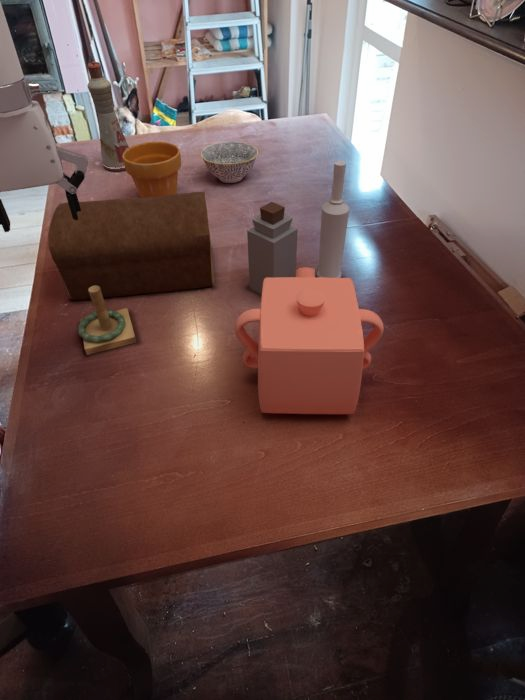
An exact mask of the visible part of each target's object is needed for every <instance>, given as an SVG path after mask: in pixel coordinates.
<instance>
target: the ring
mask: <svg viewBox="0 0 525 700" xmlns="http://www.w3.org/2000/svg"><path fill="white" fill-rule="evenodd" d="M107 311H108V314H109V317H114V318H116V319H117V320H118V323H119V324H118V326H117V327H116V329H115V330H113V331H112V332H110V333H109V334H105V335H101V336H94V335H89V334H88V333H86V331H85V327H86V326H87V324H88V323H89V322H91V321H92V320H94V319H95V318H98V317H97V314H96V311H93V312H90V313H89V314H88V315H86V316H85V317H82V318H83V319H82V318H81V319H82V321H81V323H79V324H78V326H77V330H78V331H77V332H78V336H79V337H81V338H82V340H83V339H85V340H86V341H88V342H97V343H100V342H104V341H108V340H112V339H113V338H115V337H116V336H118V335H119V334H121V332H122V331H123V329H124V327H125V325H126V324H125V320H124V317H123V315H121V314H119V313H118V312H116V310H110V309H107Z"/></svg>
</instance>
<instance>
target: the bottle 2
mask: <svg viewBox="0 0 525 700" xmlns="http://www.w3.org/2000/svg"><path fill="white" fill-rule="evenodd" d="M346 168H347V163H346V162H345V161H344V160H336V161H334V163H333V172H332V173H333V175H332V187H331V197H329V199H328V200H327V201H326V202H325V203H324V204H322V206H321V215H320V216H321V217H320V233H319V234H320V235H319V253H318V267H317V268H318V269H317V271H316V277H322V278H342V264H343V258H344V252H345V251H344V249H345V244H346V236H347V229H348V224H349V216H350V210H351V209H350V206H349V205H348V204H347V203H346V202H345V199H344V197H343V193H344V184H345V176H346Z"/></svg>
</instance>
